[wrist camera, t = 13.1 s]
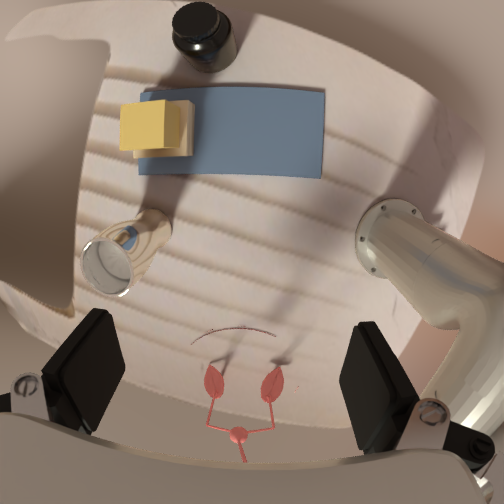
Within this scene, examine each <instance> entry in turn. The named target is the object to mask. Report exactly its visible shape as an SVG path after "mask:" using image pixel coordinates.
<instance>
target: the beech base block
mask: <svg viewBox="0 0 504 504" xmlns="http://www.w3.org/2000/svg"><path fill="white" fill-rule="evenodd" d="M169 102H171V103H172V104H174V105H176V106H178V107H180V127H179V148H162V149H146V150H133V158H148V157H169V156H193V154H194V118H195V105H194V104H193V103H192V102H190V101H189V100H178V101H169Z"/></svg>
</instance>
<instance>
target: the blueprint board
mask: <svg viewBox="0 0 504 504" xmlns="http://www.w3.org/2000/svg"><path fill="white" fill-rule="evenodd" d="M156 100H167V101H178V100H189V101H190V102H192V103H193V104H194V105H195V118H194V154H193V156H169V157H148V158H138V162H139V175H159V174H245V175H270V176H289V177H304V178H317V179H321V165H322V148H323V126H324V93H321V92H313V91H304V90H293V89H281V88H263V87H201V88H183V89H171V90H160V91H152V92H144V93H141V94H140V102H147V101H156Z"/></svg>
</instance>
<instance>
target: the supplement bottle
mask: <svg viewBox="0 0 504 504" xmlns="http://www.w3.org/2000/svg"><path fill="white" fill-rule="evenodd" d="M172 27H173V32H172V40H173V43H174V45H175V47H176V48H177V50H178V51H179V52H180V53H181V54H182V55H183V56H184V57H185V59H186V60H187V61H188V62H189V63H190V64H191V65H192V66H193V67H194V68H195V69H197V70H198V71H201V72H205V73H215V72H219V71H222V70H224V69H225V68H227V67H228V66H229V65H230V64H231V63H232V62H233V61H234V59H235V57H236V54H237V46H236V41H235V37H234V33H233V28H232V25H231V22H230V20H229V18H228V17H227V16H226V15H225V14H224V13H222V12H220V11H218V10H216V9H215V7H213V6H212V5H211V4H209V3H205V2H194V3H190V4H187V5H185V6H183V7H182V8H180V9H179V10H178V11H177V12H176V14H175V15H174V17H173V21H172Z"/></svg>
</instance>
